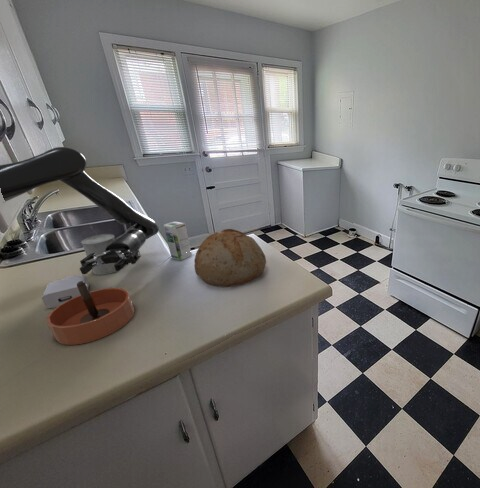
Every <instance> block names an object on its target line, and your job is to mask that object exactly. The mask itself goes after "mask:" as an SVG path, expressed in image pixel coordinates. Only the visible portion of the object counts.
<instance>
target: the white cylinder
mask: <svg viewBox="0 0 480 488" xmlns="http://www.w3.org/2000/svg"><path fill="white" fill-rule="evenodd" d="M115 239H116V238H115V235H114V234H112V233H103V234H102V233H101V234H96V235H92V236H88V237H86V238H84V239H82V240H80V244H81V245H82V249H83V250H84V252H85V255H86V257H87V256H88V255H90V254H91V253H95V255H99V254H101V253H104V252H105V250H106V247H107V246H108V245H109V244H110V243H111V242H112V241H114V240H115ZM99 260H100V262H101V263H103V261H102V260H101V259H99ZM94 264H96V262H95V263H93V264H92V265H94ZM114 264H115V263H111V264H107V265H104V266H102V267H99V266H97V267H95V268H93V269H92V270H91V271H92V273H93V275H96V276H102V275H104V276H105V275H109V274H113V273H116V272H117V271H116V270H115V267H114Z"/></svg>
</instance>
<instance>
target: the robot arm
mask: <svg viewBox="0 0 480 488" xmlns="http://www.w3.org/2000/svg"><path fill="white" fill-rule="evenodd" d="M86 168H87V159H86V158H85V156H84V155H83V154H82V153H81V152H80V151H78V150H76V149H74V148H72V147H67V146H57V147H53V148H50V149H48V150H46V151H44V152H43V153H39V154H37V155H35V156H31V157H29V158H27V159H24V160H20V161H15V162H10V163H5V164H0V188H1V193H2V195H3V198H4V200H5V202H7V201H11V200H13V199H15V198H17V197H19V196H21V195H24V194H26V193H28V192H30V191H32V190H34V189H36V188H38V187H41V186H43V185H46V184H50V183H54V182H57V181H60V182H62V183H64V184H65V185H66V186H68V187H70V188H72V189H73V190H75V191H76V192H78V193H79V194H81V195H82V196H84V197H85V198H86V199H88V201H90V202H92V203H93V204H94V205H96V206H97V207H98V208H99V209H100V210H102V211H103V212H104V213H106V214H107V215H108V216H109V217H110V218H112V219H113V220H114V221H116V223H118V224H120V225H127V224H128V225H129V224H133V225H131V226H130V227H129V228H127V229H126V230H125V232H124V233H123V234H121V235H119V236H117V237H116V238H115V240H114V241H112V242H111V243H110V244H109V245H108V246H107V247H106V250H105V252H104V253H101V254H99V255H95V253H91V254H90V255H88V256H87V255H86V256H85V257H84V258H82V259H81V260H80V261H79V263H80V265H81V266H80V267H79V271H80V273H81V275H87V274H88V273H89V272H90V271H93V270H92V269H93V268H95V267H97V266H99V267H102V266H104V265H107V264H111V263H115V264H114V267H115V270H116V272H120V271H121V270H123V268H125V267H126V266H128V265H129V264H131V265H134V264H136V263H138V261H139V259H140V258H141V257H142V255H141V253H140V249H141V248H142V247H143V246H144V245H145V243H146V241H147V240H148V239H150V238H152V237H154V236H155V235H157V234H158V233H159V231H160V227H159V225H158V223H157V222H156V221H155V220H154V219H152V218H150V217H148V216H146V215H145V214H143V213H141V212H139V211H137V210H135V209H134V208H133V207H131V206H130V205H129V204H128V203H127V202H126V201H125V200H123V199H122V198H121V197H119V196H118V195H116V194H115V193H114V192H112V191H111V190H109V189H107V188H106V187H104V186H102V185H101V184H99V183H98V182H97V181H95V179H93V178H92V177H90V176H89V175H88V173H86V172H85V171H86ZM99 259H101V260H102V261H103V263H101V262H100V260H99ZM95 262H96V264H94V265H92V264H93V263H95Z"/></svg>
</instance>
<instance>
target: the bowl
mask: <svg viewBox="0 0 480 488" xmlns="http://www.w3.org/2000/svg"><path fill="white" fill-rule="evenodd" d="M89 292H90V294H91V297H92V299H93V301H94V304H95V306H96V308H97V310H99V309H108V310H109V311H110V313H108V314H106V315H104V316H103V317H100V318H98V319H95V320H92V321H90V322H86V323H82V324H81V323H80V320H81V318H82V317H83V316H85V315H86V314H88V313H89V312H88V310H87V308H86V305H85V303H84V301H83V299H82V296H81V295H79V296H76V297H74V298H72V299H69V300H68V301H66V302H64V303H62V304H61V305H59V306H57V307H54V308H53V309H52V310H51V311H50V312H49V314H48V315H47V317H46V325H47V326H48V328H49V330H50V333H51V334H52V336H53V338H54V339H55V340H56V341H57V343H60V344H61V345H66V346H75V345H76V346H77V345H82V344H83V345H84V344H88V343H92V342H95V341H98V340H100V339H102V338H105V337H107V336H109V335H112V334H113V333H115V332H117V331H118V330H120V329H122V328H123V327H125V326H126V325H127V324H128V323H129V322H130V321H131V320H132V318H133V317H134V314H135V306H134V303H133V301H132V298H131V295H130V293H129V292H128V290H126V289H124V288H121V287H120V288H119V287H109V288H107V287H106V288H100V289H95V290H91V291H89Z"/></svg>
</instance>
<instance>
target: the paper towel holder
mask: <svg viewBox="0 0 480 488" xmlns="http://www.w3.org/2000/svg"><path fill="white" fill-rule="evenodd" d="M77 287H78V290H79V292H80V294H81V296H82V299H83V301H84V303H85V305H86V308H87V310H88V312H89V313H88V314H86V315H85V316H83V317H82V318H81V320H80V323H81V324H82V323H86V322H90V321H92V320H95V319H98V318H100V317H103V316H104V315H106V314H108V313H110V311H109V310H108V309H99V310H97V308H96V306H95V304H94V301H93V299H92V297H91V294H90V292H91V291H90V290H89V286H88V287H87V285H86V283H85V282H84V281H80V282H78V283H77Z"/></svg>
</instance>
